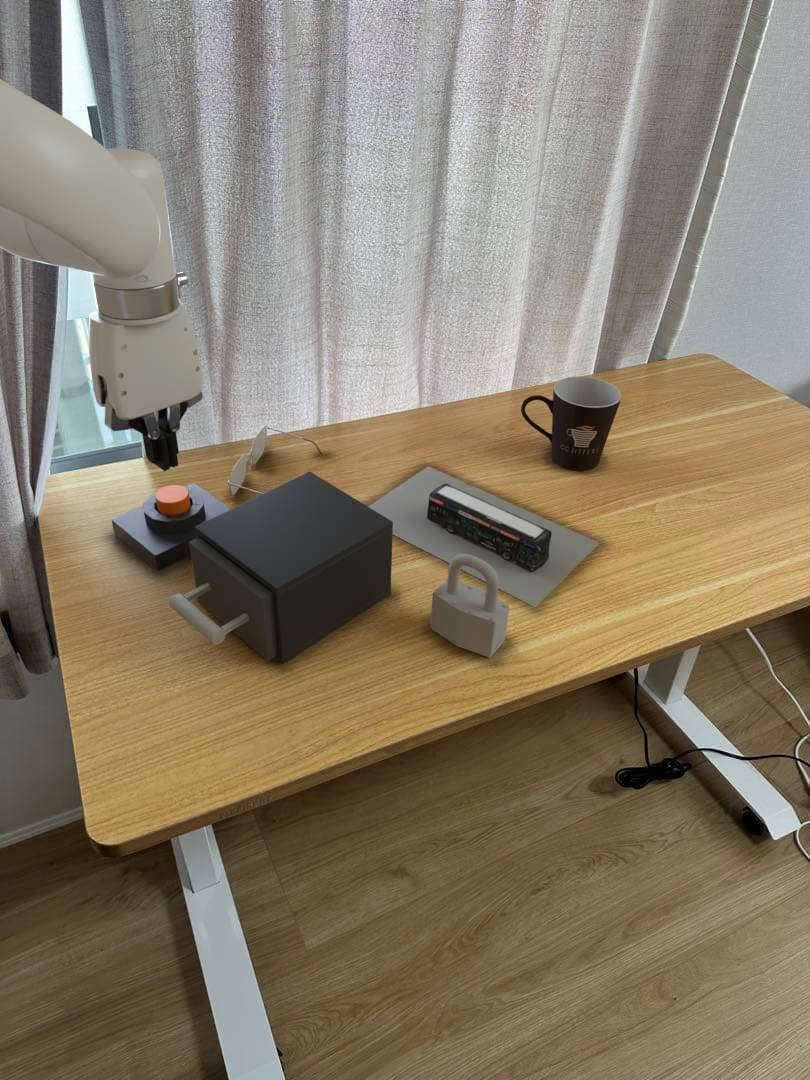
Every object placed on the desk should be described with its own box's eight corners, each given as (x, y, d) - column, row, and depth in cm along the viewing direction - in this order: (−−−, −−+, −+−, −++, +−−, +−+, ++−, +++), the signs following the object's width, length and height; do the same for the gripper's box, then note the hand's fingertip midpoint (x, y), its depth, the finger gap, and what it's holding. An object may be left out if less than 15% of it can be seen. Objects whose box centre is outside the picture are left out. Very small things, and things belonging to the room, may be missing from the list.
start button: (169, 519, 88) (166, 506, 87) (151, 506, 90) (148, 493, 89) (196, 507, 90) (195, 494, 89) (178, 493, 92) (176, 481, 91)
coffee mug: (616, 454, 110) (631, 388, 104) (592, 483, 104) (607, 414, 98) (538, 429, 115) (548, 364, 108) (511, 455, 109) (520, 388, 103)
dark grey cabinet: (282, 664, 77) (276, 588, 71) (205, 600, 84) (194, 526, 78) (390, 594, 85) (393, 521, 79) (312, 541, 92) (309, 470, 86)
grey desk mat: (534, 607, 85) (540, 576, 82) (355, 515, 96) (355, 485, 94) (599, 543, 94) (606, 513, 91) (428, 466, 106) (429, 438, 103)
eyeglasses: (266, 445, 108) (266, 420, 106) (323, 458, 108) (325, 432, 105) (227, 503, 97) (226, 475, 95) (290, 517, 97) (291, 490, 94)
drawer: (231, 684, 73) (222, 622, 69) (161, 622, 80) (149, 561, 75) (371, 595, 84) (372, 536, 79) (300, 546, 90) (297, 488, 85)
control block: (158, 571, 87) (152, 542, 85) (114, 535, 92) (108, 506, 89) (241, 530, 93) (238, 501, 91) (196, 497, 98) (192, 470, 96)
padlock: (507, 639, 81) (519, 561, 75) (487, 662, 78) (498, 584, 72) (447, 610, 84) (454, 533, 78) (426, 632, 81) (431, 554, 75)
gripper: (183, 269, 82) (202, 428, 93) (41, 303, 73) (81, 474, 84) (227, 289, 78) (242, 453, 89) (83, 327, 69) (119, 504, 80)
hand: (164, 463), depth 86 cm, fingers closed
